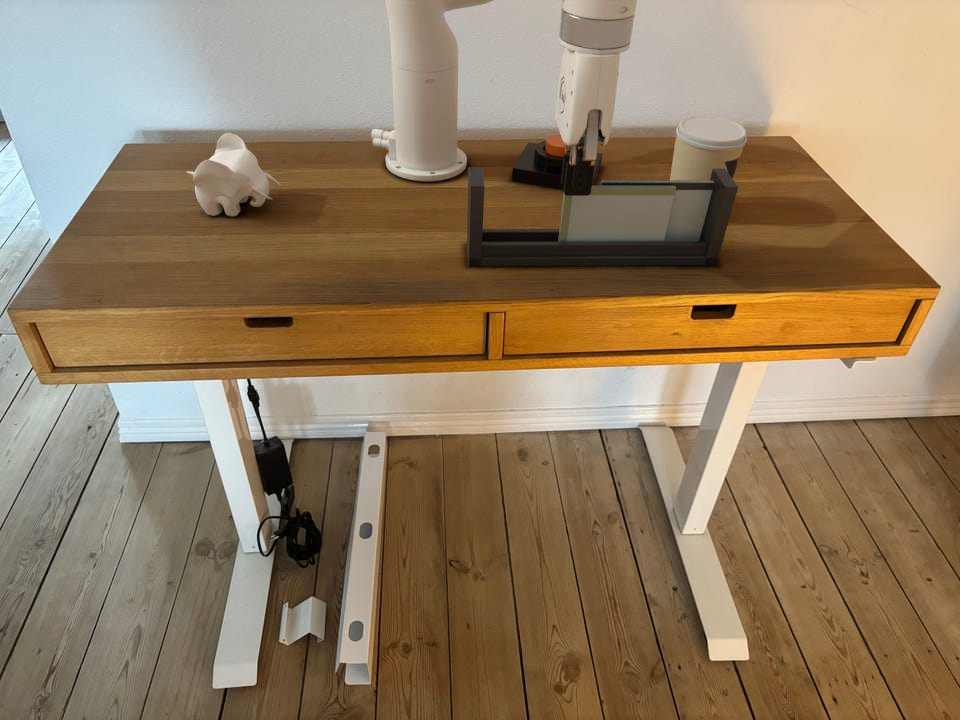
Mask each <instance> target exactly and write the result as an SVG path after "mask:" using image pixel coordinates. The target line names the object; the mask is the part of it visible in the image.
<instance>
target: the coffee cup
mask: <svg viewBox="0 0 960 720" xmlns="http://www.w3.org/2000/svg"><path fill="white" fill-rule="evenodd" d="M675 135H676V136H675V141H674V149H673V155H672V163H671V169H670V177H669V180H680V181H710V178H711V174H712V170H713V169H726V171H727V172H728V173H729V175H730V176H731V177H732V179H733V180H734V176H735V173H736V171H737V168H738V164H739V162H740V159H741V156H742V153H743V150H744V146H745V145H746V144H747V141H748V134H747V129H746V128H745V127H744V126H743V125H742V124H740V123H739V122H736V121H734V120H731V119H729V118H726V117H722V116H715V115H705V114H704V115H703V114H702V115H701V114H700V115H691V116H687V117H685V118H684V119H682V120H681V121H679V124H678V125H677V126H676V129H675Z"/></svg>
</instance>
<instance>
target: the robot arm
mask: <svg viewBox="0 0 960 720" xmlns="http://www.w3.org/2000/svg"><path fill="white" fill-rule="evenodd" d="M492 1H493V0H384V3H385V8H386V13H387V20H388V21H387V22H388V29H389V41H390V42H389V44H390V61H391V82H392V108H393V127H394V129H392V130H391V131H389V130H388V131H387V130H385V129H379V128H373V129H372V130H371V134H370V139H371V141H372V146H373V148H378V149H382V148H383V149H386V151H387V153H386V155H385V167H386V168H387V170H388V171H389V172H391V174H393V175H395V176H397V177H399V178H402V179H405V180H410V181H415V182H439V181H445V180H448V179H453V178H455V177H457V176H458V175H460V174H462V173H463V172H464V171H465V170H466V168H467V166H468V157H467V154H466V153H465V151H463V150H462V149H460V148H459V147H458V118H459V117H458V114H459V113H458V110H459V109H458V107H459V105H458V103H459V46H458V41H457V37H456V35H455V34H454V32H453V30H452V29H451V27H450V25H449V24H448V22H447V21H446V20H447V19H446V17H445V13H446V12H450V11H453V10H459V9H464V8H471V7H476V6H482V5H485V4H486V5H487V4H489V3H491V2H492ZM637 2H638V0H562V3H561V14H560V25H559V36H558V43H559V45H560V46H561V47H563V52H562V56H561V62H560V63H561V64H560V71H559V77H558V85H557V91H556V98H555V105H554V119H555V123H556V126H557V130H558V132H559V135H561V137H562V140H563V142H564V143H565V144H566V146H565V152H566V153H570V152H571V155H570V154H564V159H563V168H562V177H561V185H562V186H563V187H564V190H563V195H564V194H565V195H566V196H588V195H590V194H591V188H592V181H593V174H594V167H595V161H596V157H597V153H598V147H599V145H600V146H601V147H604V146H606V145H607V144H608V142H609V140H610V136H611V130H612V125H613V120H614V119H613V118H614V111H615V104H616V97H617V87H618V79H619V74H620V73H619V69H620V58H621V53H625V52H627V51H628V50H629V49H630V48H631V47H630V46H631V41H632V34H633V28H634V23H635V22H634V21H635V15H636V8H637V4H638V3H637ZM571 145H572V147H571ZM578 147H584V148H579V150H578ZM569 160H570V162H569Z"/></svg>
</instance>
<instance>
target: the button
mask: <svg viewBox="0 0 960 720" xmlns="http://www.w3.org/2000/svg"><path fill="white" fill-rule="evenodd" d="M545 140H546V146H545V152H546V153H548V154H551V155H553V156H560V157H562V156H564V154H570V153H566V152H565V146H566V144H565V143H564V142H563V140H562V137H561V135H560V134H555V135H550V136H548V137H547V138H546V139H545Z"/></svg>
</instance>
